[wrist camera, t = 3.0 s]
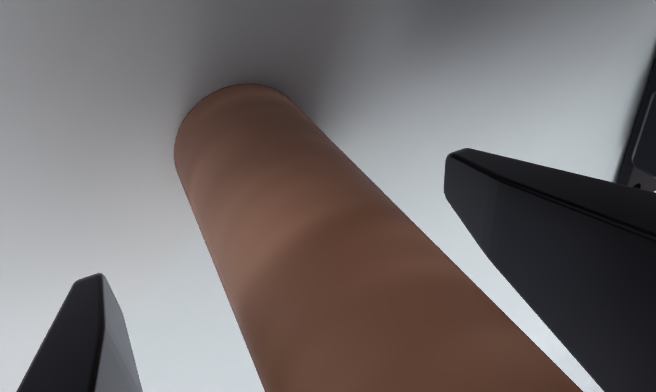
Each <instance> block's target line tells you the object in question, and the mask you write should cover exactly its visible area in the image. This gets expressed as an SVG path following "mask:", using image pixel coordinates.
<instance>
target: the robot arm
mask: <svg viewBox="0 0 656 392" xmlns="http://www.w3.org/2000/svg"><path fill="white" fill-rule="evenodd" d="M653 191H656V60H655V63H654V67H653V70H652V73H651V76H650V79H649V82H648V86H647V89H646V92H645V95H644V98H643V102H642V105H641V108H640V111H639V114H638V117H637V121H636V124H635V127H634V130H633V133H632V137H631V140H630V143H629V146H628V149H627V152H626V156H625V159H624V162H623V165H622V168H621V172H620V175H619V178H618V181H617V183H613V182H609V181H604V180H600V179H596V178H592V177H588V176H583V175H579V174H575V173H571V172H567V171H562V170H558V169H554V168H550V167H546V166H541V165H537V164H533V163H529V162H525V161H521V160H516V159H512V158H508V157H504V156H500V155H495V154H491V153H487V152H483V151H479V150H474V149H470V148H464V149H461V150H458V151H455V152H452V153H450V154H449V155H448V156H447V158H446V162H445V176H444V193H445V196H446V199H447V200H448V202H449V203H450V205H451V206H452V208H453V209H454V211H455V212H456V213H457V215H458V216H459V218H460V219H461V221H462V222H463V224H464V225H465V226H466V228H467V229H468V231H469V232H470V234H471V235H472V236H473V238H474V239H475V241H476V242H477V244H478V245H479V247H480V248H481V249H482V251H483V252H484V253H485V255H486V256H487V257H488V258H489V260H490V261H491V262H492V263H493V265H494V266H495V267H496V268H497V269H498V270H499V272H500V273H501V274H502V275H503V276H504V277H505V278H506V280H507V281H508V282H509V283H510V284H511V285H512V286H513V288H514V289H515V290H516V291H517V292H518V293H519V294H520V296H521V297H522V298H523V299H524V300H525V301H526V303H527V304H528V305H529V306H530V307H531V308H532V309H533V311H534V312H535V313H536V314H537V315H538V316H539V317H540V319H541V320H542V321H543V322H544V323H545V324H546V325H547V327H548V328H549V329H550V330H551V331H552V332H553V333H554V335H555V336H556V337H557V338H558V339H559V340H560V342H561V343H562V344H563V345H564V346H565V347H566V348H567V350H568V351H569V352H570V353H571V354H572V355H573V356H574V358H575V359H576V360H577V361H578V362H579V363H580V364H581V366H582V367H583V368H584V369H585V370H586V371H587V372H588V374H589V375H590V376H591V377H592V378H593V379H594V381H595V382H596V383H597V384H598V385H599V386H600V387H601V389H602V390H603V391H604V392H656V193H655V192H653ZM16 392H142V387H141V383H140V379H139V375H138V371H137V368H136V364H135V360H134V356H133V352H132V348H131V344H130V340H129V336H128V332H127V328H126V324H125V320H124V317H123V314H122V311H121V308H120V306H119V304H118V302H117V300H116V298H115V296H114V294H113V292H112V290H111V287H110V285H109V283H108V281H107V279H106V277H105V276H104V275H103V274H102V273H97V274H94V275H91V276H88V277H85V278H82V279H79V280H77V281H76V282H75V283H74V284H73V286H72V287H71V289H70V291H69V293H68V295H67V297H66V299H65V301H64V303H63V304H62V306H61V308H60V310H59V312H58V314H57V316H56V318H55V320H54V321H53V323H52V325H51V327H50V329H49V331H48V333H47V335H46V337H45V338H44V340H43V342H42V344H41V346H40V348H39V350H38V352H37V354H36V355H35V357H34V359H33V361H32V363H31V365H30V367H29V369H28V371H27V372H26V374H25V376H24V378H23V380H22V382H21V384H20V386H19V388H18V389H17V391H16Z"/></svg>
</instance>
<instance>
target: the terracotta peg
mask: <svg viewBox="0 0 656 392" xmlns="http://www.w3.org/2000/svg"><path fill="white" fill-rule="evenodd" d="M174 160H175V166H176V170H177V173H178V175H179V178H180V180H181V183H182V185H183V188H184V190H185V193H186V195H187V198H188V200H189V203H190V205H191V208H192V210H193V213H194V215H195V218H196V220H197V223H198V225H199V228H200V230H201V233H202V235H203V238H204V240H205V243H206V245H207V248H208V250H209V253H210V255H211V258H212V260H213V263H214V265H215V268H216V270H217V273H218V275H219V278H220V280H221V283H222V285H223V288H224V290H225V293H226V295H227V298H228V300H229V303H230V305H231V308H232V310H233V313H234V315H235V318H236V320H237V323H238V325H239V328H240V330H241V333H242V335H243V338H244V340H245V343H246V345H247V348H248V350H249V353H250V355H251V358H252V360H253V363H254V365H255V368H256V370H257V373H258V375H259V378H260V380H261V383H262V385H263V388H264V390H265V392H583V391H582V390H581V389H580V388H579V387H578V386H577V385H576V384H575V383H574V382H573V381H572V380H571V379H570V378H569V377H568V376H567V375H566V374H565V373H564V372H563V371H562V370H561V369H560V368H559V367H558V366H557V365H556V364H555V363H554V362H553V361H552V360H551V359H550V358H549V357H548V356H547V355H546V354H545V353H544V352H543V351H542V350H541V349H540V348H539V347H538V346H537V345H536V344H535V343H534V342H533V341H532V340H531V339H530V338H529V337H528V336H527V335H526V334H525V333H524V332H523V331H522V330H521V329H520V328H519V327H518V326H517V325H516V324H515V323H514V322H513V321H512V320H511V319H510V318H509V317H508V316H507V315H506V314H505V313H504V312H503V311H502V310H501V309H500V308H499V307H498V306H497V305H496V304H495V303H494V302H493V301H492V300H491V299H490V298H489V297H488V296H487V295H486V294H485V293H484V292H483V291H482V290H481V289H480V288H479V287H478V286H477V285H476V284H475V283H474V282H473V281H472V280H471V279H470V278H469V277H468V276H467V275H466V274H465V273H464V272H463V271H462V270H461V269H460V268H459V267H458V266H457V265H456V264H455V263H454V262H453V261H452V260H451V259H450V258H449V257H448V256H447V255H446V254H445V253H444V252H443V251H442V250H441V249H440V248H439V247H437V246H436V245H435V244H434V243H433V242H432V241H431V240H430V239H429V238H428V237H427V236H426V235H425V234H424V233H423V232H422V231H421V230H420V229H419V228H418V227H417V226H416V225H415V224H414V223H413V222H412V221H411V220H410V219H409V218H408V217H407V216H406V215H405V214H404V213H403V212H402V211H401V210H400V209H399V208H398V207H397V206H396V205H395V204H394V203H393V202H392V201H391V200H390V199H389V198H388V197H387V196H386V195H385V194H384V193H383V192H382V191H381V190H380V189H379V188H378V187H377V186H376V185H375V184H374V183H373V182H372V181H371V180H370V179H369V178H368V177H367V176H366V175H365V174H364V173H363V172H362V171H361V170H360V169H359V168H358V167H357V166H356V165H355V164H354V163H353V162H352V161H351V160H350V159H349V158H348V157H347V156H346V155H345V154H344V153H343V152H342V151H341V150H340V149H339V148H338V147H337V146H336V145H335V144H334V143H333V142H332V141H331V140H330V139H329V138H328V137H327V136H326V135H325V134H324V133H323V132H322V131H321V130H320V129H319V128H318V127H317V126H316V125H315V124H314V123H313V122H312V121H311V120H310V119H309V118H308V117H307V116H306V115H305V114H304V113H303V112H302V111H301V110H300V109H299V108H298V107H297V106H296V105H295V104H294V103H293V102H292V101H291V100H290V99H289V98H288V97H286V96H285V95H284V94H282V93H281V92H279V91H277V90H275V89H272V88H269V87H266V86H262V85H257V84H241V85H234V86H230V87H226V88H223V89H221V90H218V91H216V92H214V93H212V94H210V95H209V96H207V97H206V98H204V99H203V100H201V101H200V102H199V103H198V104H197V105H196V106H195V107H194V108H193V109H192V110H191V111H190V112H189V113H188V115H187V116H186V118H185V119H184V121H183V122H182V124H181V126H180V128H179V131H178V134H177V137H176V141H175V146H174Z"/></svg>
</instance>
